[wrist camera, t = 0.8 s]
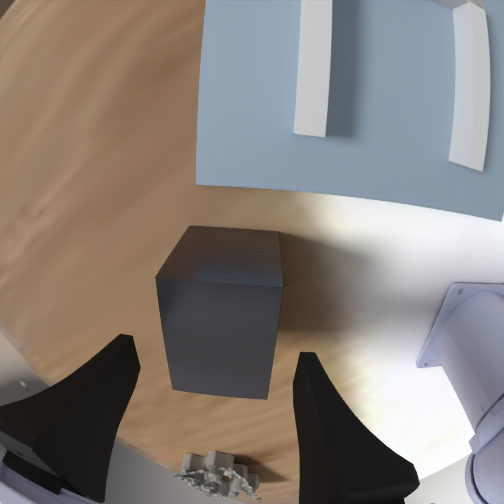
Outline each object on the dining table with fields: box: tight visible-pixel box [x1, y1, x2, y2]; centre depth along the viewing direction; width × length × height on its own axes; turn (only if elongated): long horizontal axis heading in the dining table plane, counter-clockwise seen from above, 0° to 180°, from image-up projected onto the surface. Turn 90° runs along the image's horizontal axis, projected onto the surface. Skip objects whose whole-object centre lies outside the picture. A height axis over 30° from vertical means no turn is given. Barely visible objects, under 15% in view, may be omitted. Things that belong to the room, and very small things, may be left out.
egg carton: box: [174, 451, 262, 501], centre depth 28 cm, size 11×8×4 cm
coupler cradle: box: [196, 0, 504, 222], centre depth 11 cm, size 20×18×2 cm
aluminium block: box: [156, 226, 283, 400], centre depth 16 cm, size 5×7×6 cm
